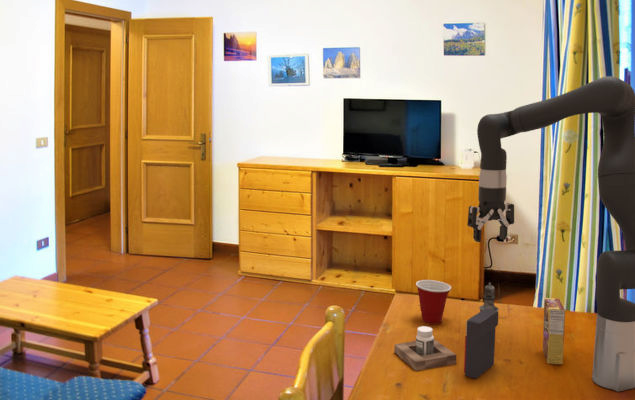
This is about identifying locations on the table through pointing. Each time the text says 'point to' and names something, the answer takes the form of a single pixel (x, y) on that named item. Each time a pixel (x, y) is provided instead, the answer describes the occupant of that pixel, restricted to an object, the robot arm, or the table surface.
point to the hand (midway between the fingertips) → (490, 240)
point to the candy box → (553, 330)
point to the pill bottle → (424, 341)
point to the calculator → (480, 342)
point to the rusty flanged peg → (489, 299)
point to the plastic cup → (432, 299)
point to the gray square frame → (425, 356)
